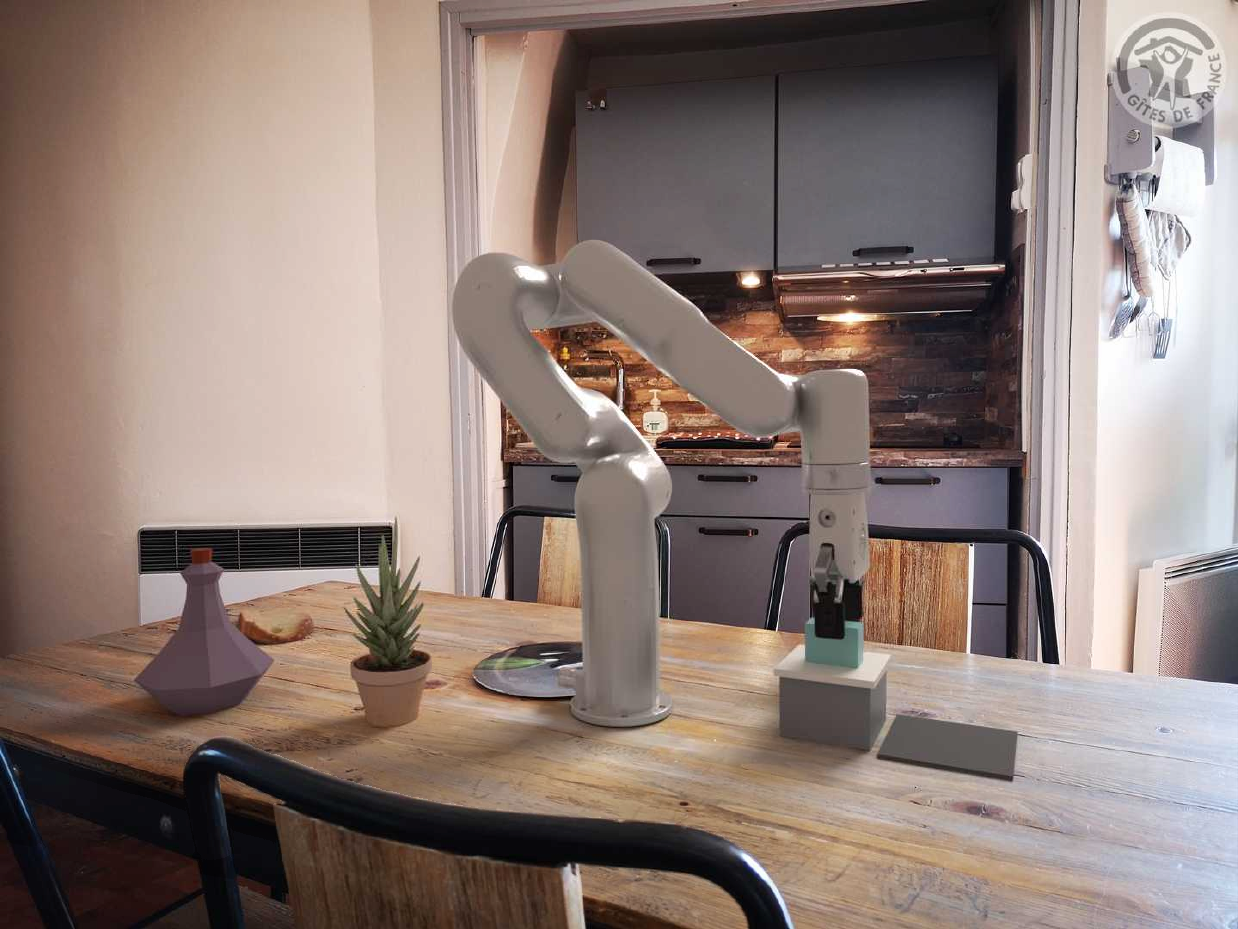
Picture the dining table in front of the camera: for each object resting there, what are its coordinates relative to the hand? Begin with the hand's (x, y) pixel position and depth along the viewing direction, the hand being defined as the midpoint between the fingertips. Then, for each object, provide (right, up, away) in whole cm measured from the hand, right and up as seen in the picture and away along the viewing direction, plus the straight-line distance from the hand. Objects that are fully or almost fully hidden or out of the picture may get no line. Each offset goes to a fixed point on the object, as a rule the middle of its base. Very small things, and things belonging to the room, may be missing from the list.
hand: (839, 627), depth 97 cm
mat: (+11, -12, -5) cm, 17 cm away
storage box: (0, -12, +1) cm, 12 cm away
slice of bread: (-86, -11, +50) cm, 100 cm away
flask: (-79, -12, +13) cm, 81 cm away
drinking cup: (+5, -11, +20) cm, 23 cm away
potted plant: (-53, -12, +6) cm, 55 cm away
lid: (-1, -6, +1) cm, 6 cm away
